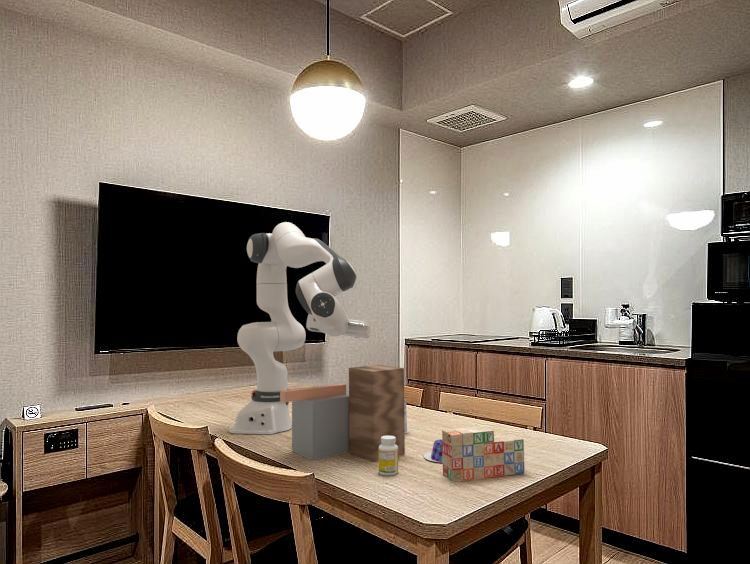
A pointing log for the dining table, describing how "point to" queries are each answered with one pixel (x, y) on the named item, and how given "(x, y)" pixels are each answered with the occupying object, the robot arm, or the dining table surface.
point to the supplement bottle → (388, 456)
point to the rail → (312, 392)
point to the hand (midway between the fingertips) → (343, 333)
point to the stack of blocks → (480, 454)
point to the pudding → (435, 452)
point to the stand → (375, 409)
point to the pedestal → (321, 426)
